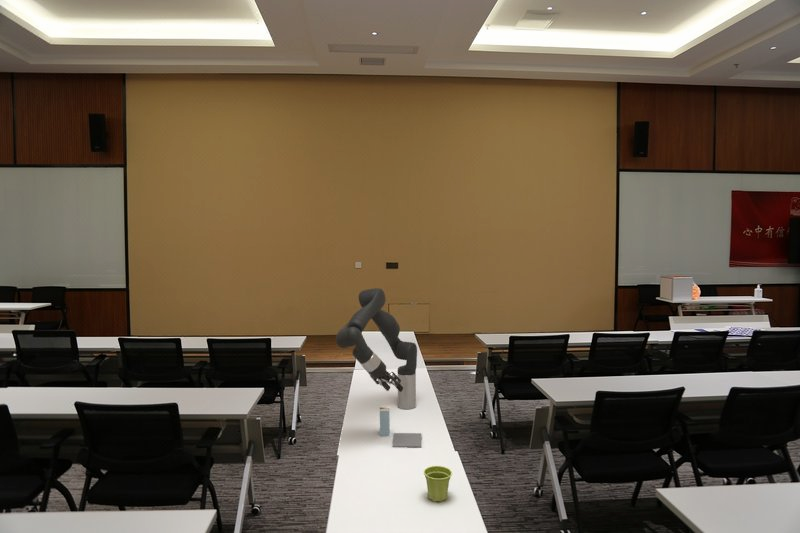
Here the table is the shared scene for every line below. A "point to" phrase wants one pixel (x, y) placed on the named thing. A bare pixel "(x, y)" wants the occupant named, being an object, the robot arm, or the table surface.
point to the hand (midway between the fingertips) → (395, 389)
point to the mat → (407, 440)
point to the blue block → (384, 421)
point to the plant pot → (437, 482)
